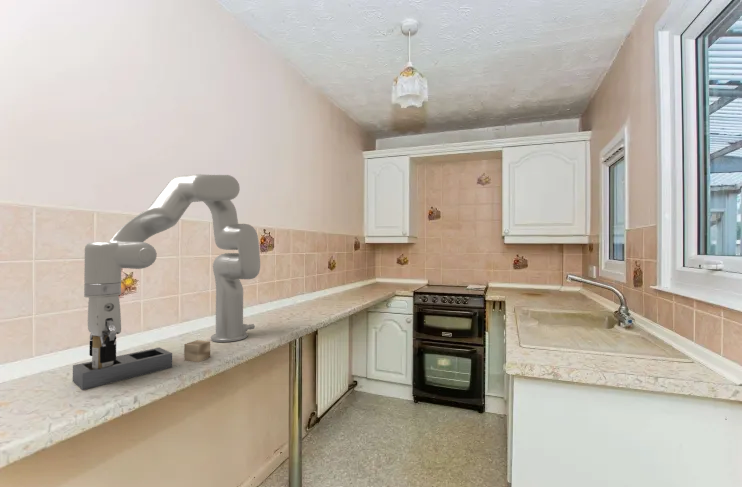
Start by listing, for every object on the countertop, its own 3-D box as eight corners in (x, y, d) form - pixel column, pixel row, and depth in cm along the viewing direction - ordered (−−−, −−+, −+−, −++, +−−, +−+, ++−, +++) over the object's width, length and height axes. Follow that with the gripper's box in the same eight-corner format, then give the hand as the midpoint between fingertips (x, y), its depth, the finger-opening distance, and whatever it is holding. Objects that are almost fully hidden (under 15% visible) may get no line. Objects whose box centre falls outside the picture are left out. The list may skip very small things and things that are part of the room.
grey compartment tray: (159, 360, 104) (159, 347, 104) (172, 367, 98) (172, 353, 98) (72, 381, 88) (72, 365, 88) (82, 390, 83) (82, 373, 83)
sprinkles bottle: (113, 379, 89) (113, 326, 89) (90, 383, 86) (90, 328, 87) (114, 374, 93) (114, 323, 93) (92, 378, 90) (92, 325, 91)
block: (197, 356, 109) (197, 340, 109) (210, 357, 108) (210, 341, 108) (184, 360, 104) (184, 344, 104) (197, 362, 103) (197, 345, 103)
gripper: (132, 291, 87) (131, 361, 87) (109, 286, 98) (109, 348, 98) (95, 294, 81) (94, 369, 81) (75, 288, 92) (74, 355, 92)
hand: (102, 357), depth 89 cm, fingers open, 8 cm apart
